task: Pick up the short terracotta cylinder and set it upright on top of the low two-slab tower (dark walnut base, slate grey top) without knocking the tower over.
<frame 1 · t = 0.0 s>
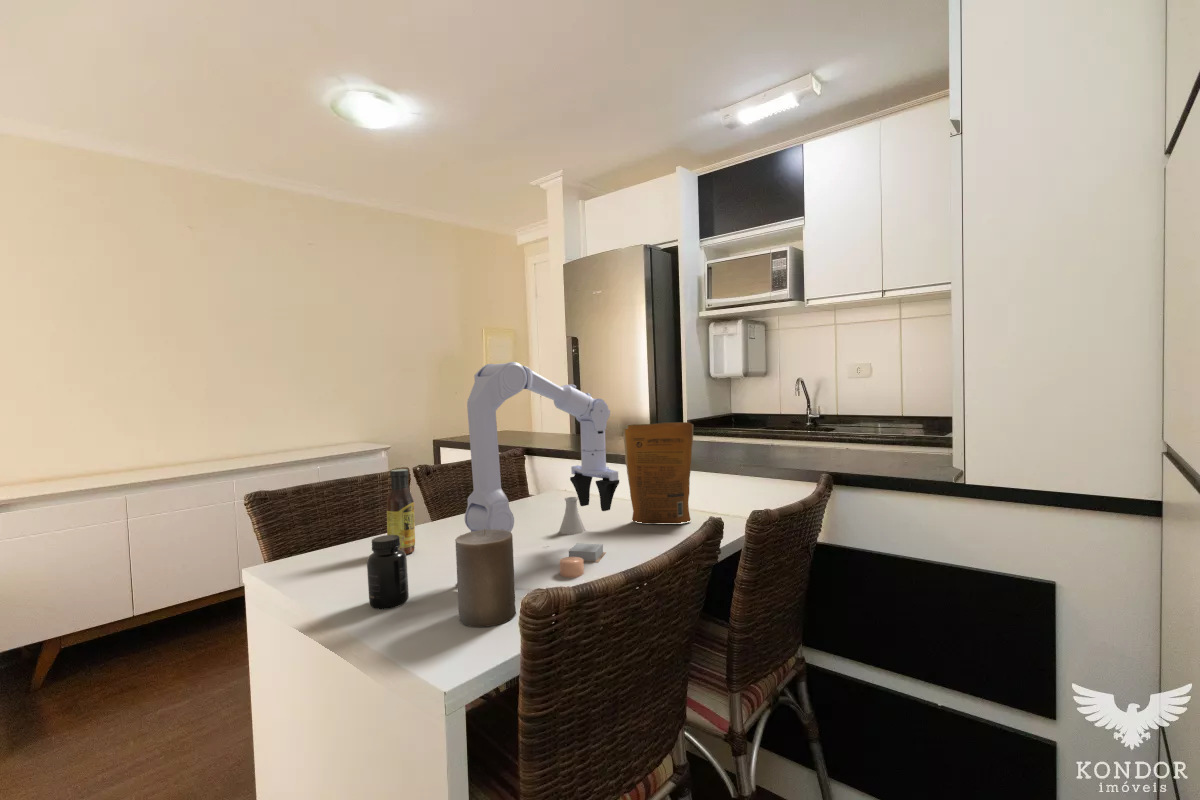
hand: (595, 507, 130), 10 cm above the table, tool pointing down, fingers open, 7 cm apart
pancake mix bag: (661, 523, 153), on the table
terracotta cylinder: (572, 580, 111), on the table
supplement bottle: (389, 603, 102), on the table
sauce bottle: (402, 553, 133), on the table
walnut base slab: (587, 565, 121), on the table, touching slate top block
flask: (572, 537, 143), on the table
slate top block: (586, 556, 121), point 1 cm above the table, touching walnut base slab
pillar candle: (487, 616, 95), on the table
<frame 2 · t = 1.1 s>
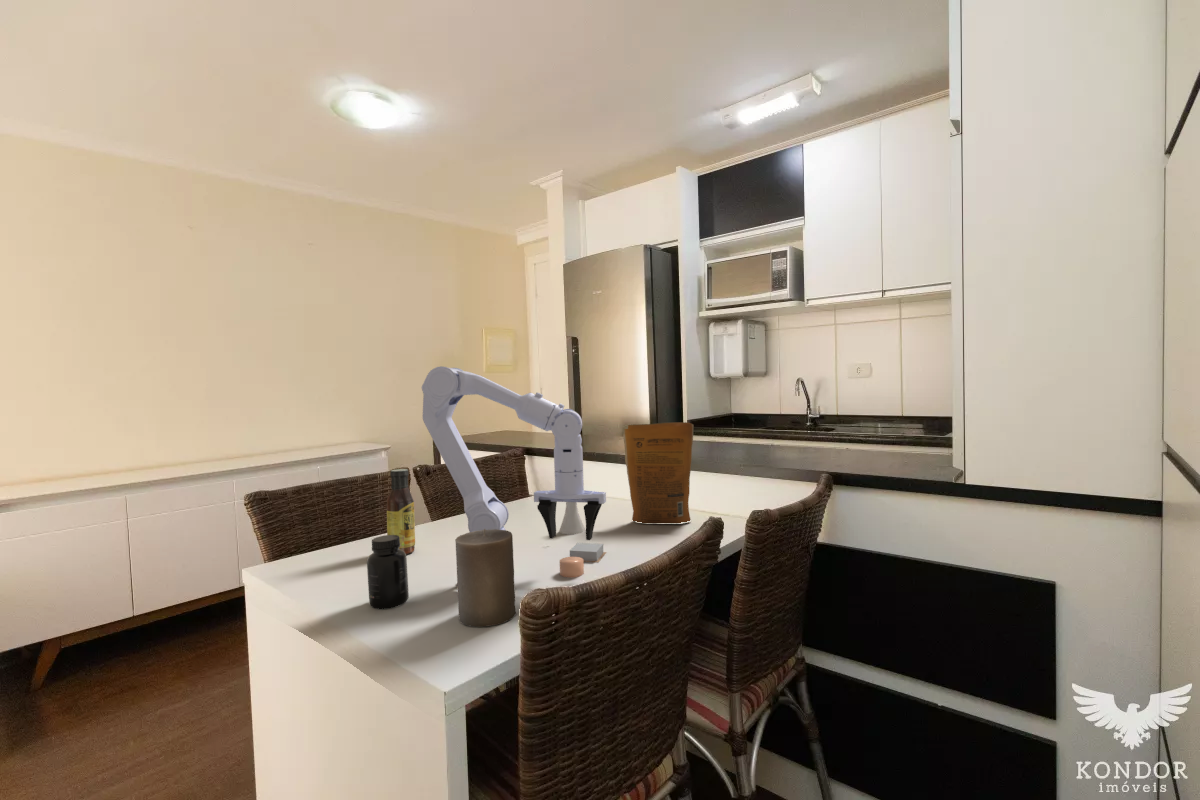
hand: (570, 538, 111), 8 cm above the table, tool pointing down, fingers open, 7 cm apart
nothing on the table moved.
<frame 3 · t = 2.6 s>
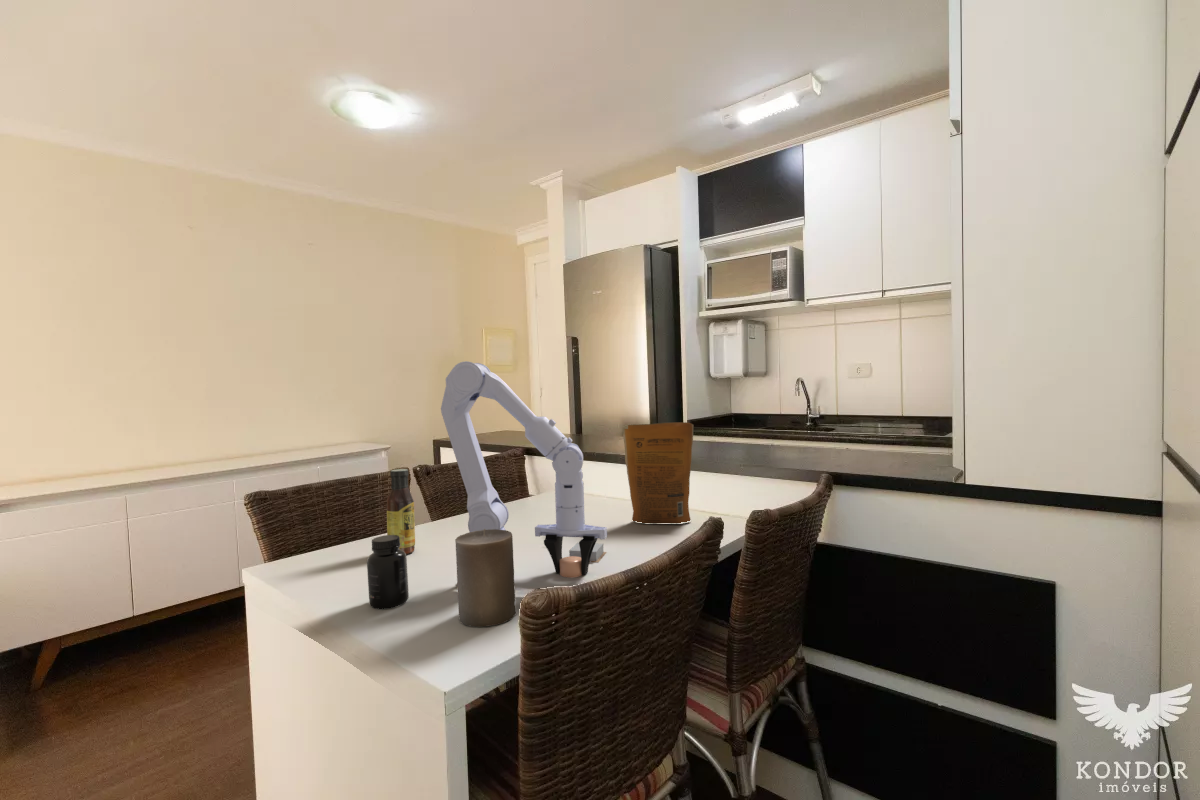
hand: (571, 572, 111), 1 cm above the table, tool pointing down, fingers closed on terracotta cylinder, 5 cm apart
terracotta cylinder: (572, 579, 111), on the table, touching gripper
everything else where it was.
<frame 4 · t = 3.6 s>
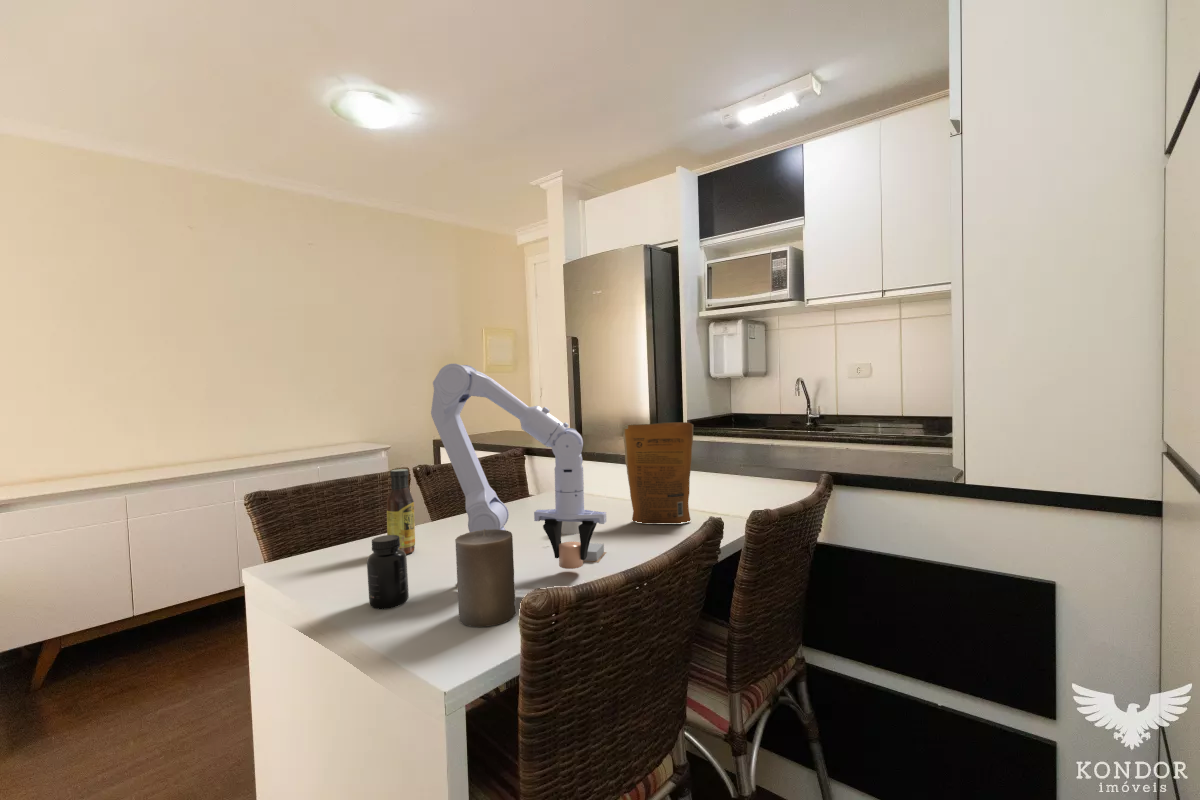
hand: (571, 557, 111), 4 cm above the table, tool pointing down, fingers closed on terracotta cylinder, 5 cm apart
terracotta cylinder: (571, 564, 111), point 3 cm above the table, touching gripper
everything else where it was.
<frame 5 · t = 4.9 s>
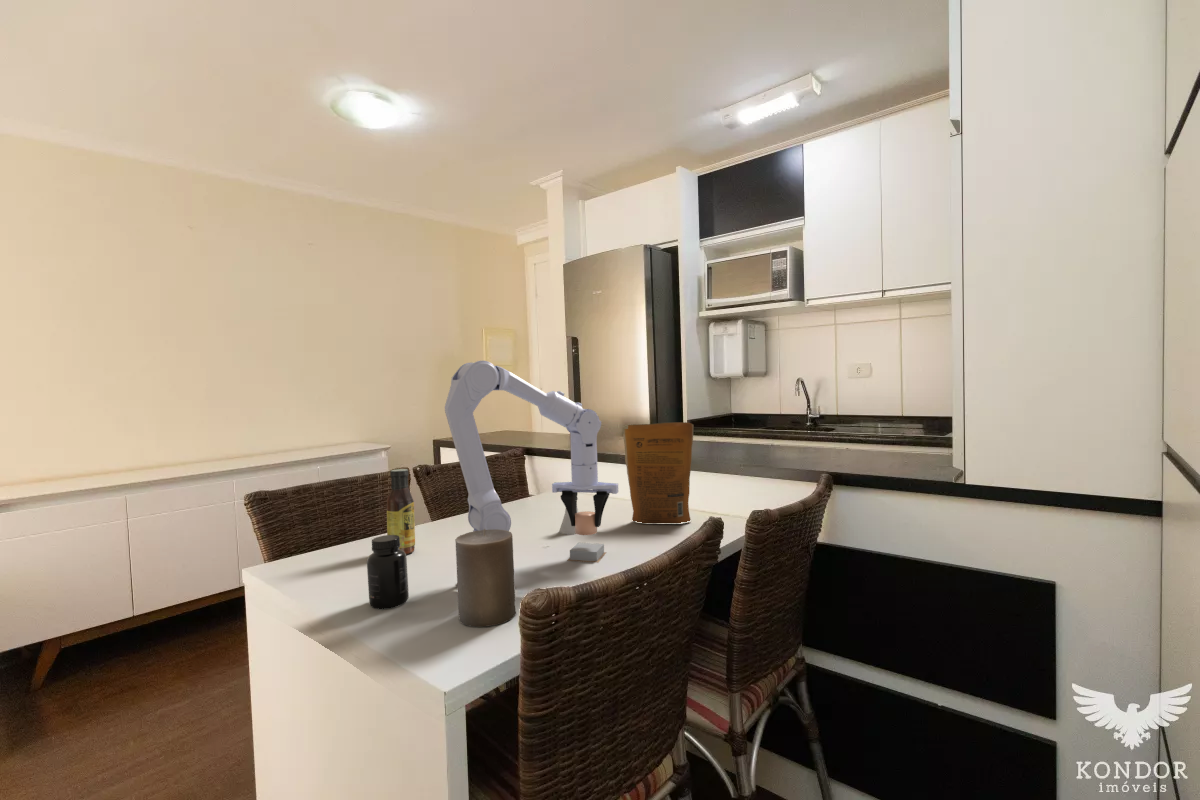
hand: (586, 525, 121), 8 cm above the table, tool pointing down, fingers closed on terracotta cylinder, 5 cm apart
terracotta cylinder: (586, 532, 121), point 7 cm above the table, touching gripper
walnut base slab: (587, 565, 122), on the table
slate top block: (587, 556, 121), point 1 cm above the table
everything else where it was.
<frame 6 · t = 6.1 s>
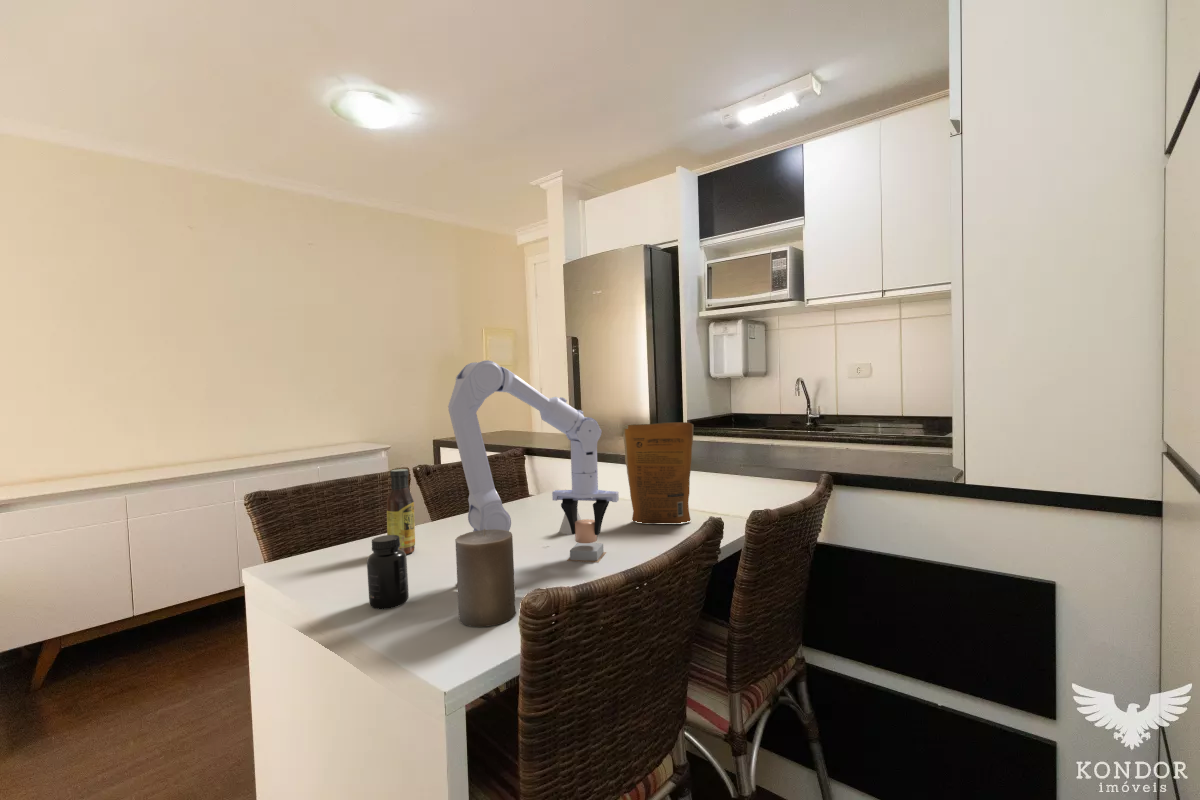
hand: (586, 533, 121), 6 cm above the table, tool pointing down, fingers closed on terracotta cylinder, 5 cm apart
terracotta cylinder: (586, 540, 121), point 5 cm above the table, touching gripper
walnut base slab: (587, 565, 122), on the table, touching slate top block
slate top block: (587, 555, 122), point 1 cm above the table, touching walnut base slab
everything else where it was.
when the fingers open (6 cm above the table, at t = 6.4 s): terracotta cylinder drops 2 cm, resting on slate top block.
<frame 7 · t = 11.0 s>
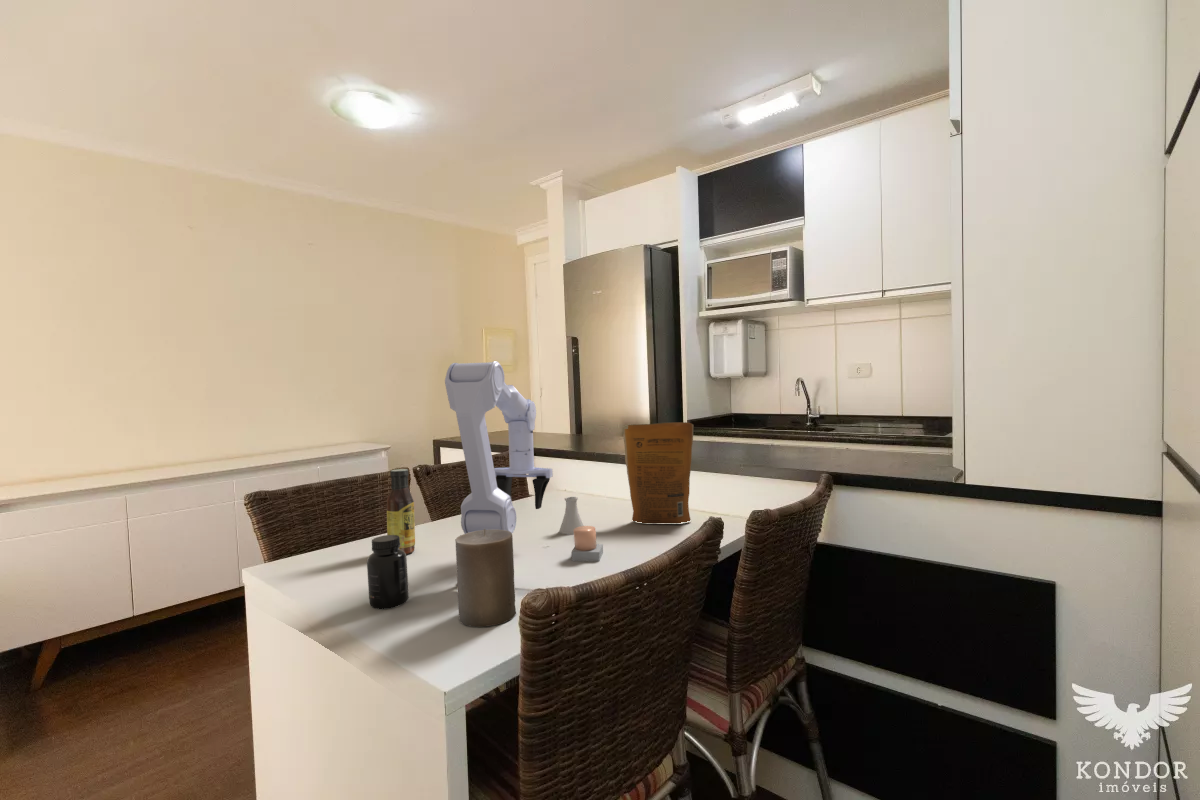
hand: (523, 507, 131), 10 cm above the table, tool pointing down, fingers open, 7 cm apart
terracotta cylinder: (585, 547, 122), point 3 cm above the table, touching slate top block
slate top block: (587, 556, 121), point 1 cm above the table, touching terracotta cylinder, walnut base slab
everything else where it was.
at the end: terracotta cylinder 0.4 cm off-centre on the slate top block, point 2.0 cm above the slate top block's base; terracotta cylinder tilted 0°; slate top block moved 0.7 cm from its start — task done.
